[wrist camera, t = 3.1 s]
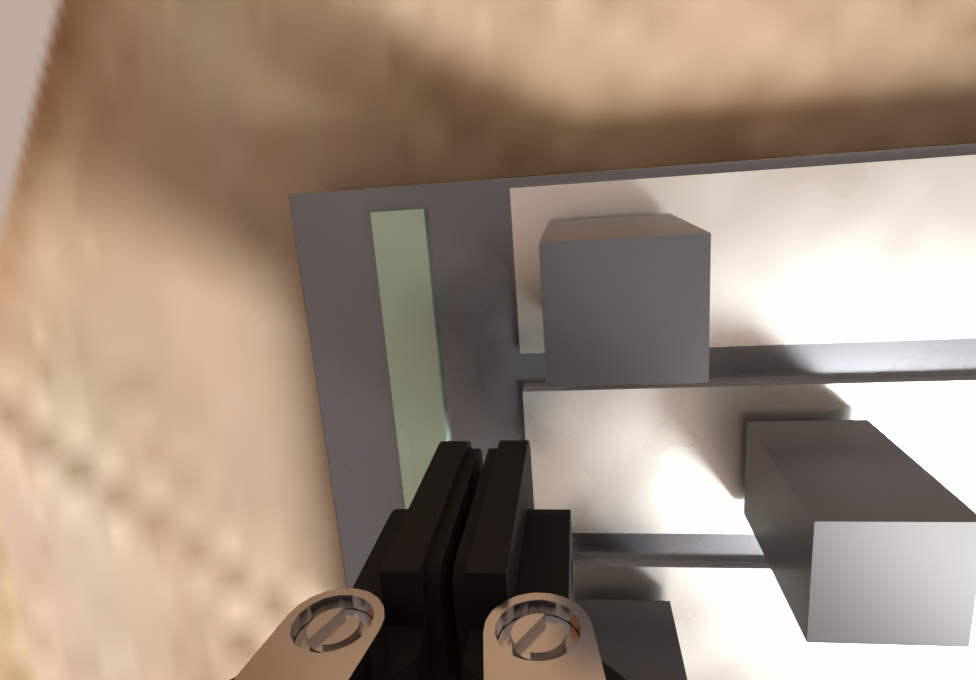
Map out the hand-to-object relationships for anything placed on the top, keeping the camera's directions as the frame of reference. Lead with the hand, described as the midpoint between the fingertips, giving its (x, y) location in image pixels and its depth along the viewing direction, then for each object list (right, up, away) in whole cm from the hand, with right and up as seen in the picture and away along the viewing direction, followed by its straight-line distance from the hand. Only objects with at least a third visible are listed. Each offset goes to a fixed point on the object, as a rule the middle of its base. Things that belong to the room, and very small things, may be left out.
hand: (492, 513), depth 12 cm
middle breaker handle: (+7, +1, +2) cm, 7 cm away
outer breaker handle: (+2, +5, +1) cm, 5 cm away
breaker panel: (+7, +1, +4) cm, 8 cm away
